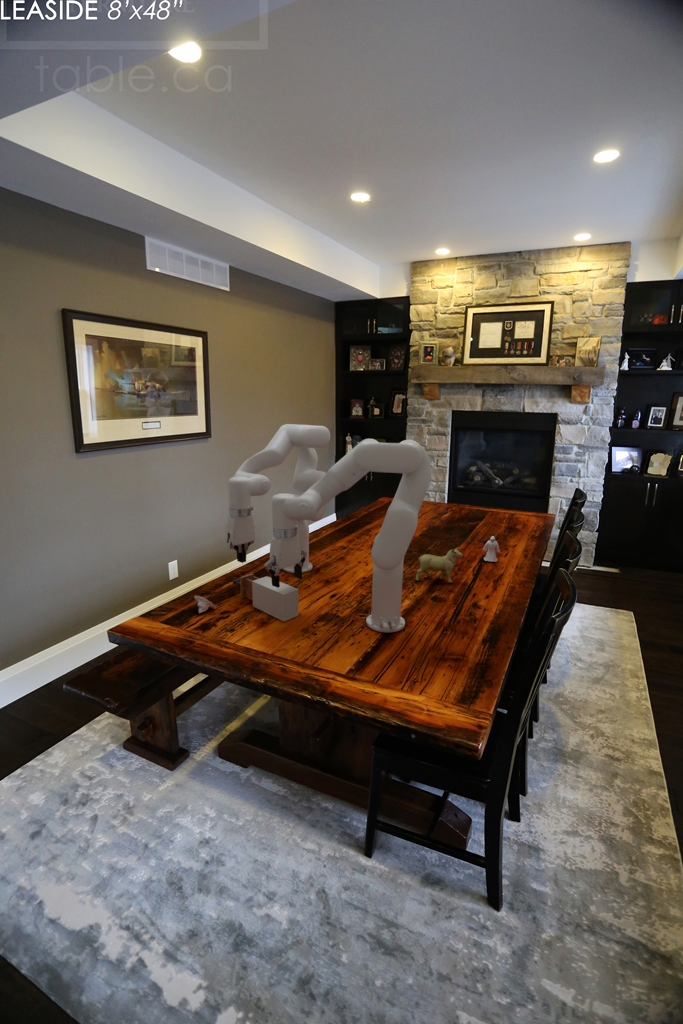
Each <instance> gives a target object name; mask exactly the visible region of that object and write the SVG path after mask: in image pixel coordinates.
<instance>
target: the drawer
mask: <svg viewBox="0 0 683 1024" xmlns="http://www.w3.org/2000/svg"><path fill="white" fill-rule="evenodd" d="M260 578H261V577H260ZM260 578H259V577H257V576H255V573H249V574H245V575H242V576H240V577H239V578H236V579H233V580H232V584H233V585H234V584H235V585H238V586H240V588H239V589H240V590H239V591H240V598H242V599H244V598H247V599H249V600H250V601H253V595H252V581H254V580H257V579H260Z"/></svg>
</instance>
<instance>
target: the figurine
mask: <svg viewBox="0 0 683 1024" xmlns="http://www.w3.org/2000/svg"><path fill="white" fill-rule="evenodd" d="M482 551H483V552H486V554H485V556H484V557H483V560H484V561H485V562H495V563H498V558H497V554H496V553H498V554H499V553H501V550H500V547H499V543H498V541H497V540H496V538H495V536H493V535H492V536H490V539H489V540H487V542H486V543H485V544H484V546H483V548H482Z"/></svg>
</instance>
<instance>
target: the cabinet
mask: <svg viewBox="0 0 683 1024" xmlns="http://www.w3.org/2000/svg"><path fill="white" fill-rule="evenodd" d="M252 595H253V600H252V607H253V608H255V609H256V610H259V611H262V612H264V613H265V614H268V615H269V616H271V617H273V618H276V619H278V620H279V621H282V622H287V621H289V620H291V619H294V618H295V617H299V614H300V613H299V588H296V587H295V586H292V585H289V584H287V583H284V582H282V581H280V587H278V588H277V587H275V586H272V578H271V576H267V575H266V576H263V577H260V579H257V580H254V581H252Z"/></svg>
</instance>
